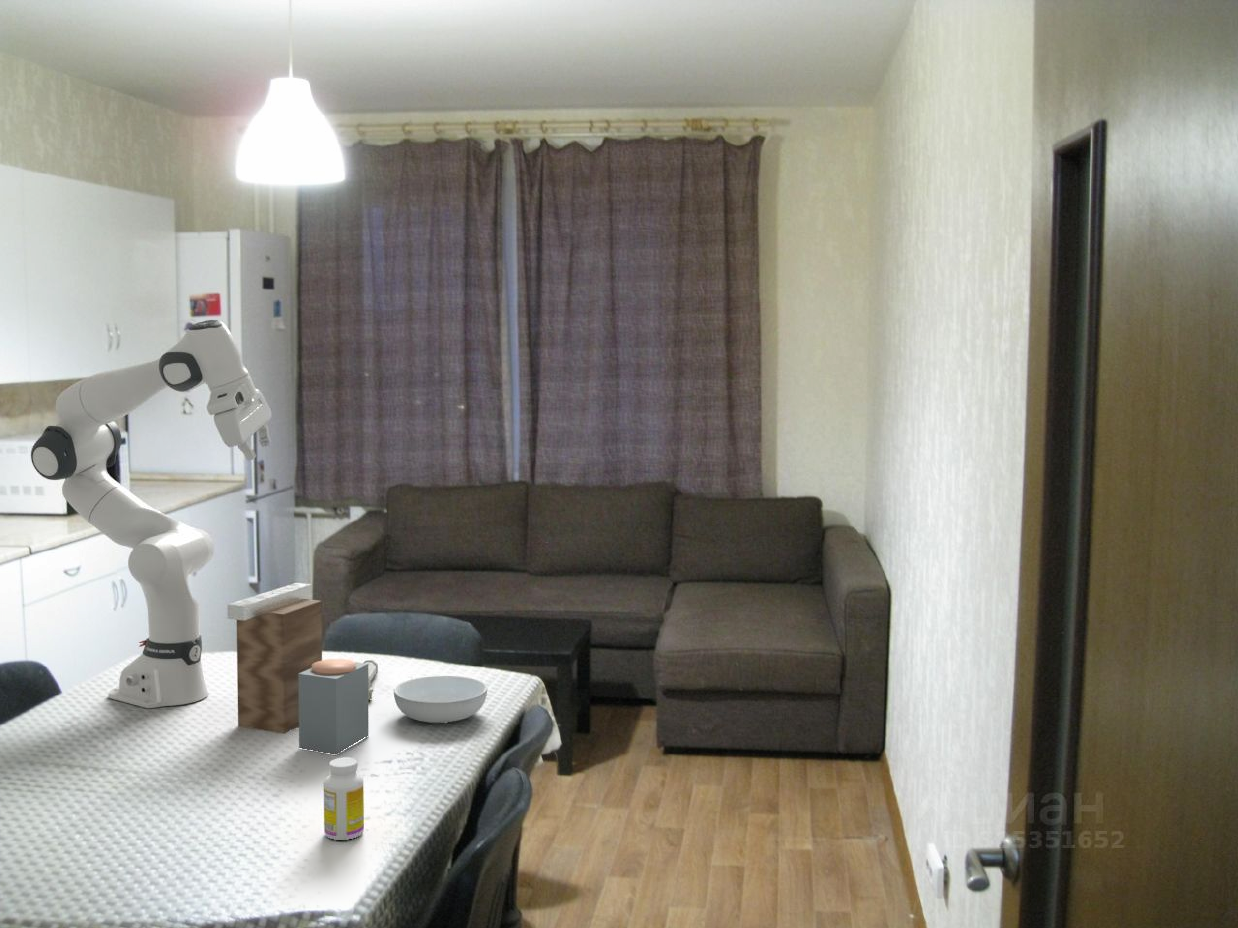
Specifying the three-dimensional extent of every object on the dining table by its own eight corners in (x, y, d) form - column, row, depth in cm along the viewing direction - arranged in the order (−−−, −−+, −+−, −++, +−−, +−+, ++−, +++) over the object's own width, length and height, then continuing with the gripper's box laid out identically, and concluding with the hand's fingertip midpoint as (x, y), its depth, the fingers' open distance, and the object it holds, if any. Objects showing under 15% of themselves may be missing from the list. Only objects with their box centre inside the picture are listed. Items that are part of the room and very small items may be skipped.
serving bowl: (495, 705, 278) (495, 676, 277) (476, 735, 257) (476, 704, 256) (408, 700, 280) (408, 672, 279) (381, 730, 259) (381, 699, 258)
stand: (238, 725, 259) (236, 608, 256) (277, 707, 272) (276, 595, 270) (284, 733, 255) (283, 614, 252) (322, 714, 268) (321, 600, 265)
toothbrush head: (380, 658, 301) (372, 673, 276) (380, 685, 301) (371, 702, 276) (359, 658, 301) (349, 673, 276) (359, 685, 300) (348, 702, 276)
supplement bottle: (367, 826, 209) (366, 755, 207) (360, 842, 202) (359, 769, 201) (328, 826, 208) (328, 754, 207) (320, 842, 202) (319, 768, 200)
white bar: (227, 618, 248) (227, 604, 247) (296, 595, 270) (296, 582, 270) (243, 620, 246) (243, 606, 246) (311, 597, 269) (311, 584, 268)
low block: (299, 749, 246) (298, 669, 244) (332, 731, 257) (331, 655, 255) (336, 755, 243) (336, 674, 241) (368, 737, 254) (368, 660, 252)
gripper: (238, 384, 266) (262, 441, 270) (203, 410, 246) (229, 471, 250) (263, 376, 265) (287, 433, 269) (230, 402, 245) (257, 463, 249)
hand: (259, 452), depth 259 cm, fingers open, 8 cm apart
